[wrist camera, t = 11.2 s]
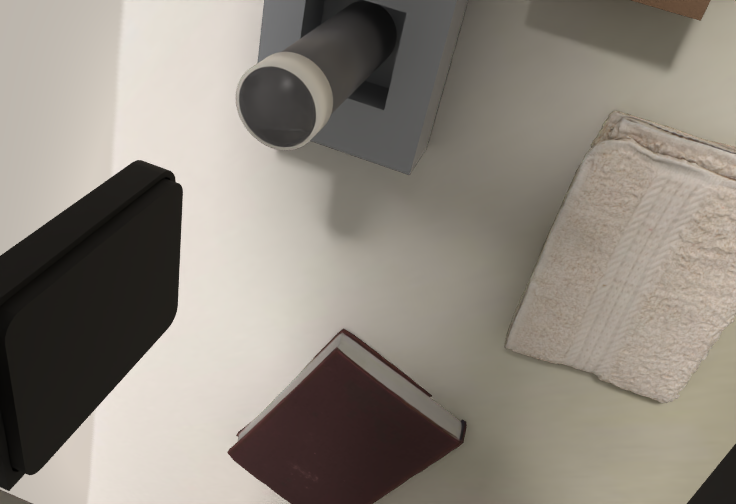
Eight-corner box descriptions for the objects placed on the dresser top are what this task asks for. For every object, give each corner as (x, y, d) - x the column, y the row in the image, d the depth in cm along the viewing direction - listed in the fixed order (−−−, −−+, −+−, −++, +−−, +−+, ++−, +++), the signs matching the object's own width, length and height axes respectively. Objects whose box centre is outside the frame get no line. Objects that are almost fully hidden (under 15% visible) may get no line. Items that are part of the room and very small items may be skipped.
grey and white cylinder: (340, -12, 38) (239, 50, 29) (406, 9, 38) (326, 79, 28) (328, 56, 41) (232, 134, 31) (391, 76, 40) (312, 161, 30)
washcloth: (822, 161, 37) (835, 187, 34) (673, 391, 47) (675, 424, 44) (600, 96, 38) (597, 116, 36) (505, 331, 49) (498, 359, 46)
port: (306, -108, 37) (271, -98, 34) (483, -56, 36) (466, -41, 32) (279, 97, 44) (248, 123, 41) (426, 147, 43) (407, 178, 39)
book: (471, 419, 54) (463, 450, 52) (342, 509, 66) (330, 538, 63) (348, 321, 53) (332, 347, 51) (238, 430, 65) (221, 456, 62)
